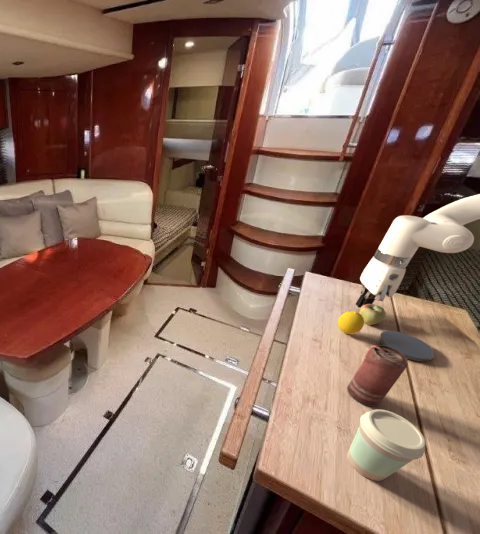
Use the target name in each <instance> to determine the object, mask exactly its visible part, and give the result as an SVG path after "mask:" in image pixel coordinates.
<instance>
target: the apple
mask: <svg viewBox="0 0 480 534" xmlns="http://www.w3.org/2000/svg"><path fill="white" fill-rule="evenodd" d="M358 313H359V314H360V315H361V316H362V317H363V319H364V324H366V325H368V326H372V325H375V324H379V323H381V322H383V321H384V320H385V319H386V317H387V314H386V311H385V309H384V307H382V306H381V305H378V304H374V303H373V304H366V305H363V306H362V307H361V308H359V312H358Z"/></svg>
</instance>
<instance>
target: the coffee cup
mask: <svg viewBox="0 0 480 534" xmlns="http://www.w3.org/2000/svg"><path fill="white" fill-rule="evenodd" d="M425 451H426V439H425V437H424V435H423V434H422V432H421V431H420V429H418V428H417V426H415V425H414V423H412V422H411V421H409V420H407V418H404V417H403V416H401V415H399V414H397V413H395V412H393V411H389V410H387V409H386V410H385V409H379V408H378V409H376V408H375V409H372V410H370V411H366V412H365V413H364V414H362V415H361V416H360V418H359V426H358V428H357V430H356V433H355V435H354V437H353V440H352V441H351V444H350V447H349V449H348V451H347V454H346V456H347V457H346V458H347V461H348V463H349V464H350V466H351V467H352V468H353V469H354V470H355V471H356V472H357V473H358V474H360V475H361V476H363V477H365V478H367V479H369V480H371V481H375V482H381V481H383V480H385V479H386V478H388V477H390V476H391V475H393V474H394V473H396V472H397V471H399V470H400V469H402V468H403V467H405V466H406V465H408V464H409V463H410V462H412V461H413V460H419V459H421V458H422V457H423V456H424V454H425Z"/></svg>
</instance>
